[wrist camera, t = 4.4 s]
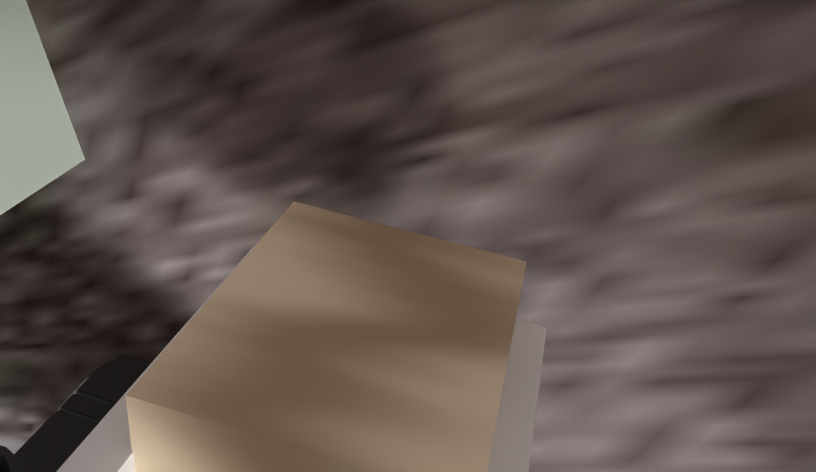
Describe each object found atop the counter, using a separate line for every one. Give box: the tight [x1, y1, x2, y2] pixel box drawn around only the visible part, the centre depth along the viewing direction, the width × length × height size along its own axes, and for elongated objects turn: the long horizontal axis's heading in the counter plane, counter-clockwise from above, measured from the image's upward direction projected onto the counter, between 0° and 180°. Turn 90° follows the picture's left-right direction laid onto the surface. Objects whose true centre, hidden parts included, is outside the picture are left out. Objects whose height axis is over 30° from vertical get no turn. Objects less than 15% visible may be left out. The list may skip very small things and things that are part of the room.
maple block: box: [126, 201, 527, 472], centre depth 13 cm, size 5×5×6 cm
